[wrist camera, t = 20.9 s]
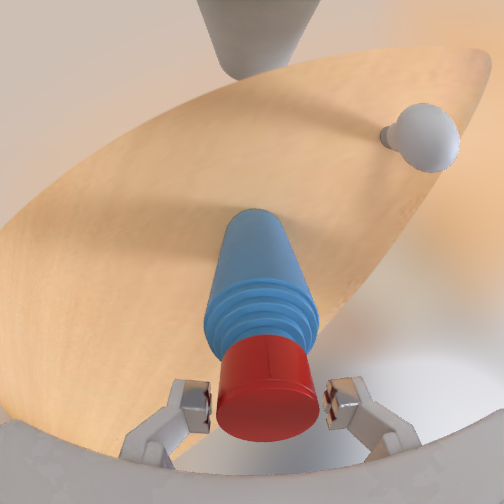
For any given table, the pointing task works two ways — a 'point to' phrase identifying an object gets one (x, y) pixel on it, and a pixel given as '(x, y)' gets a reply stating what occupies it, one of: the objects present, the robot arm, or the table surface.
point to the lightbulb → (423, 137)
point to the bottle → (258, 287)
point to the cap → (266, 390)
